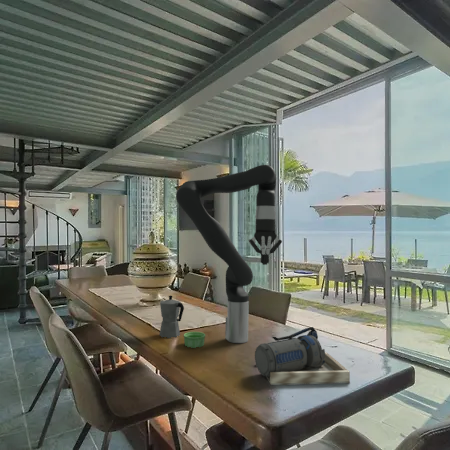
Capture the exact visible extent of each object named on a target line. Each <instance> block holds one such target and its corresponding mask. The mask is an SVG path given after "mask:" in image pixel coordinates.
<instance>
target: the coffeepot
mask: <svg viewBox="0 0 450 450" xmlns="http://www.w3.org/2000/svg"><path fill="white" fill-rule="evenodd" d="M159 307H160V313H161V318H162V321H161V325H160V329H159V336H161V337H160V338H163V337H167V338H166V339H172V338H171V337H175V338H178V337H179V336H180V335H181V334H180V333H181V331H180V326H179V322H181V321H182V317H183V313H184V310H185V306H184V305H183V303H182V302H181V301H180V300H176V299H173V295H168V299H165V300H160V302H159ZM177 336H178V337H177Z"/></svg>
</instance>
